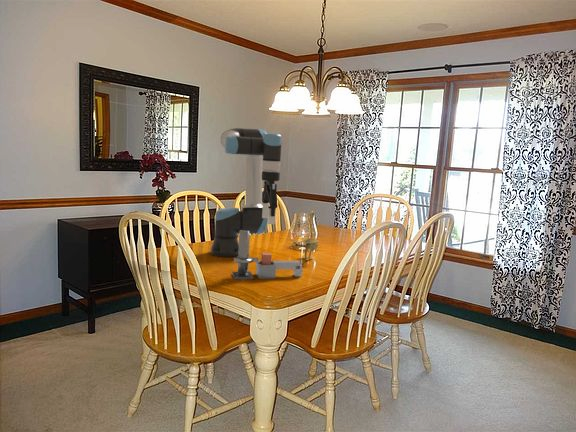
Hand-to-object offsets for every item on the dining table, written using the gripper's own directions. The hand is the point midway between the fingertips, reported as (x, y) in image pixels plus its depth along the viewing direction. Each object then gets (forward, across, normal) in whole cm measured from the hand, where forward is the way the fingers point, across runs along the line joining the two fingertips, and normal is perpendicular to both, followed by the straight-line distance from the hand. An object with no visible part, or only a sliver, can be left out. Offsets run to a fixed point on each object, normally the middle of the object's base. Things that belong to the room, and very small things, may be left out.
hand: (268, 221), depth 192 cm
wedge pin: (+24, 0, 0) cm, 25 cm away
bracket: (+24, 0, -6) cm, 25 cm away
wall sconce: (+25, +26, -27) cm, 45 cm away
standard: (+24, 0, +9) cm, 26 cm away
